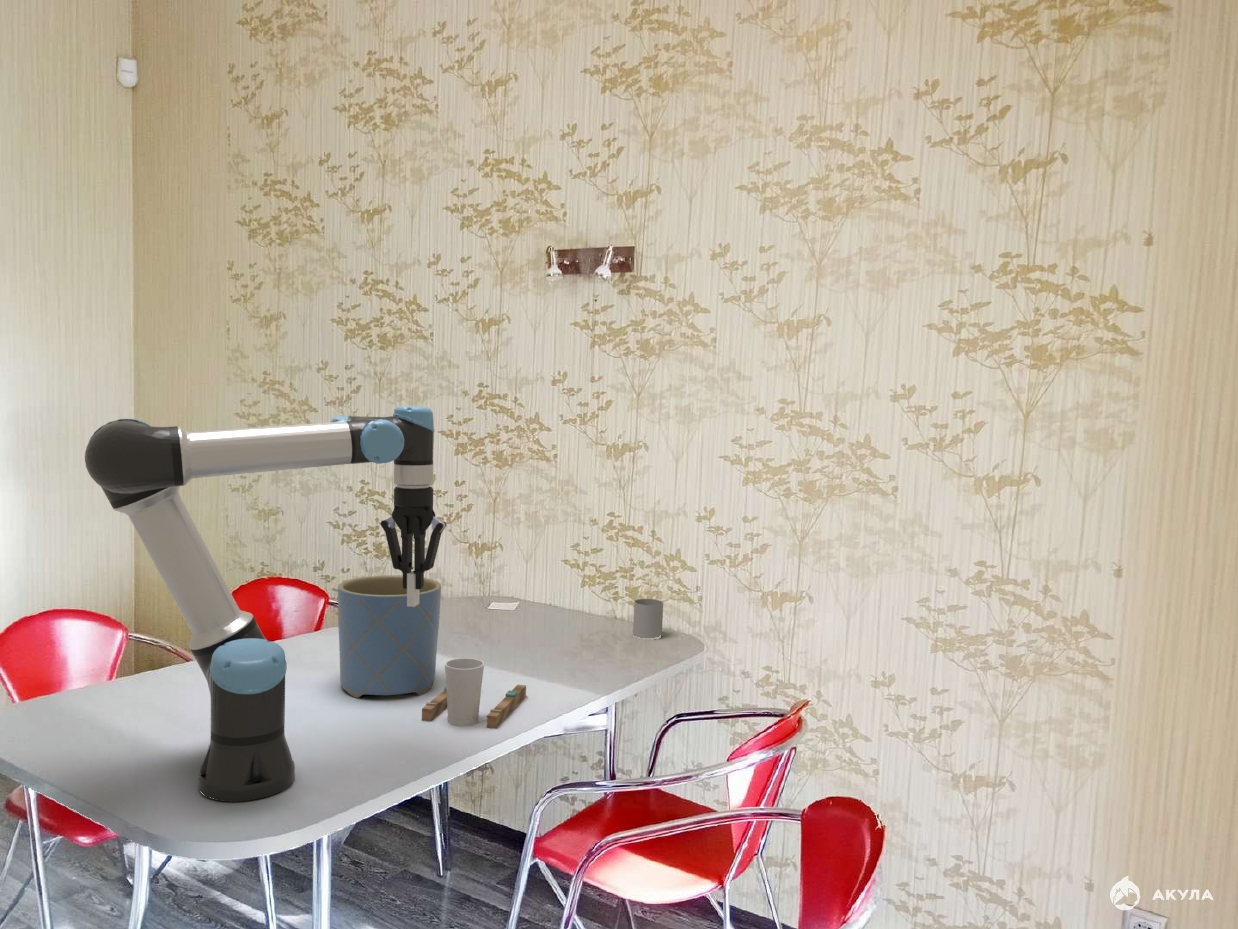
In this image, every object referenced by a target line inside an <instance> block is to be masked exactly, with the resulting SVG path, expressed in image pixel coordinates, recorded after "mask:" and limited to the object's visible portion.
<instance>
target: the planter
mask: <svg viewBox="0 0 1238 929" xmlns="http://www.w3.org/2000/svg"><path fill="white" fill-rule="evenodd" d="M441 595H442V584H441V583H440V582H439V581H437V580H435V579H432V578H427V577H424V586H423V588H422V589H419V604H418V605H416V606H415V607H408V606H407V589H404V588H403V574H402V575H399V574H398V575H396V574H388V575H384V574H383V575H373V576H372V575H371V576H370V575H369V576H361V577H356V578H352V579H348V580H344V581H342V582H340V583H339V584H338V586H337V616H338V617H337V618H338V619H337V621H338V623H337V624H338V642H339V643H338V646H339V648H338V649H339V678H340V679H339V680H340V684H341V687H342V689H343V690H345V692H347V693H348V695H350V696H352V697H354V698H357V699H359V698H361V696H364V695H371V696H372V695H374V696H396V695H405V694H409V693H415V694H416V695H418V696H421V695H424V694H425V693H426V692H427V691H428V690H429V689H430V688H431V686H432V685H433V684H434V682H435V678H436V664H437V652H438V642H439V640H438V639H439V627H440V616H441V615H440V614H441V597H442V596H441Z"/></svg>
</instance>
